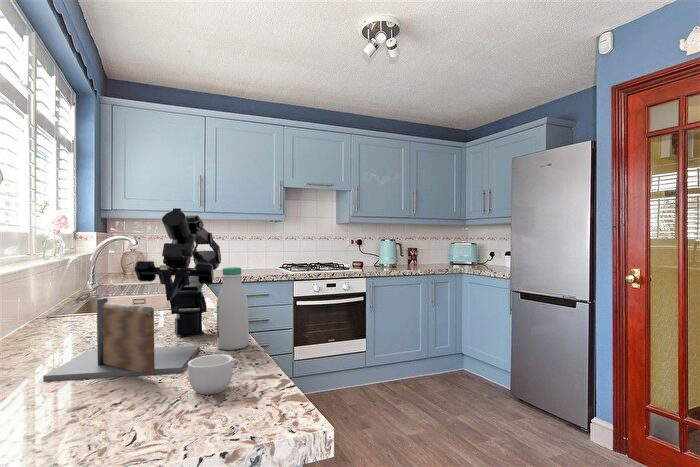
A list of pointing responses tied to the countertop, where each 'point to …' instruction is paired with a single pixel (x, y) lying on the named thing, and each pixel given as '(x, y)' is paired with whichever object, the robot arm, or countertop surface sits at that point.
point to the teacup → (211, 373)
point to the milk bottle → (232, 312)
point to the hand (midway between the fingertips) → (168, 299)
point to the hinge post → (100, 329)
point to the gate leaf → (128, 337)
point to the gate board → (89, 368)
